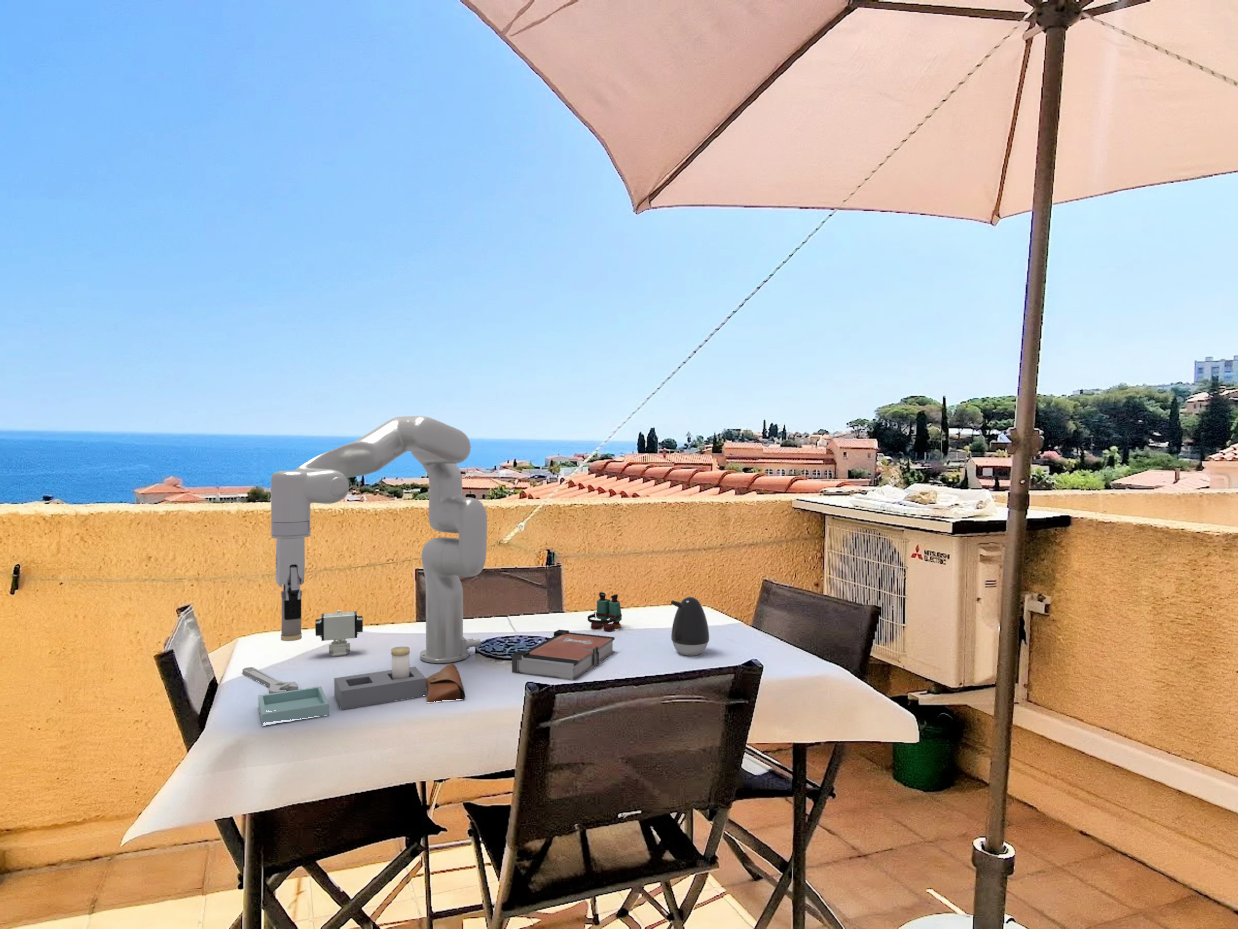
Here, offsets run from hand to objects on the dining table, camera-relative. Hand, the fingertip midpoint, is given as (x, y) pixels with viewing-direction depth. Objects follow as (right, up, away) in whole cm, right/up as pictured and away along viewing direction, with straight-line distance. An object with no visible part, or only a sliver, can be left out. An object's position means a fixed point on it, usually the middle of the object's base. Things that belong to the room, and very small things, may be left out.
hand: (291, 615), depth 156 cm
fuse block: (+15, -20, +10) cm, 27 cm away
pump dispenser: (+88, -19, +44) cm, 100 cm away
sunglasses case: (+28, -21, +15) cm, 38 cm away
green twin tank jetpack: (+64, -19, +70) cm, 97 cm away
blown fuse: (0, -5, 0) cm, 5 cm away
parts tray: (0, -20, +1) cm, 20 cm away
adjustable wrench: (-14, -20, +20) cm, 31 cm away
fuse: (+19, -20, +12) cm, 30 cm away
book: (+55, -20, +36) cm, 69 cm away
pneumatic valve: (-6, -19, +43) cm, 47 cm away
